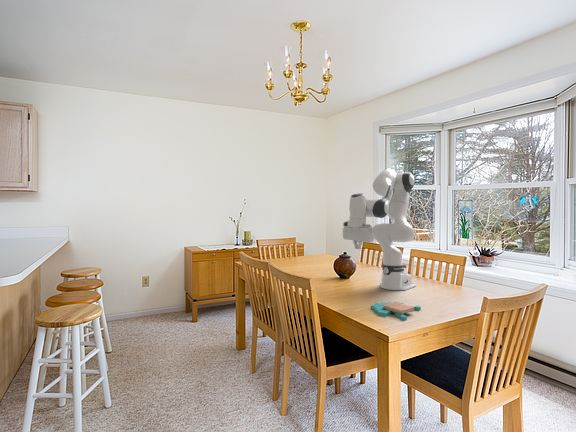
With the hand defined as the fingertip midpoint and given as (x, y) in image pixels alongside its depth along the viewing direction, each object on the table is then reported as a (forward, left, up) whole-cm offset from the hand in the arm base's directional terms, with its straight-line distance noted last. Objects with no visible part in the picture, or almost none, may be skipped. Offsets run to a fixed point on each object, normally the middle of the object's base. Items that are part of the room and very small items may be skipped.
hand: (357, 249), depth 194 cm
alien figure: (+2, +25, -28) cm, 38 cm away
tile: (+2, +23, -25) cm, 34 cm away
